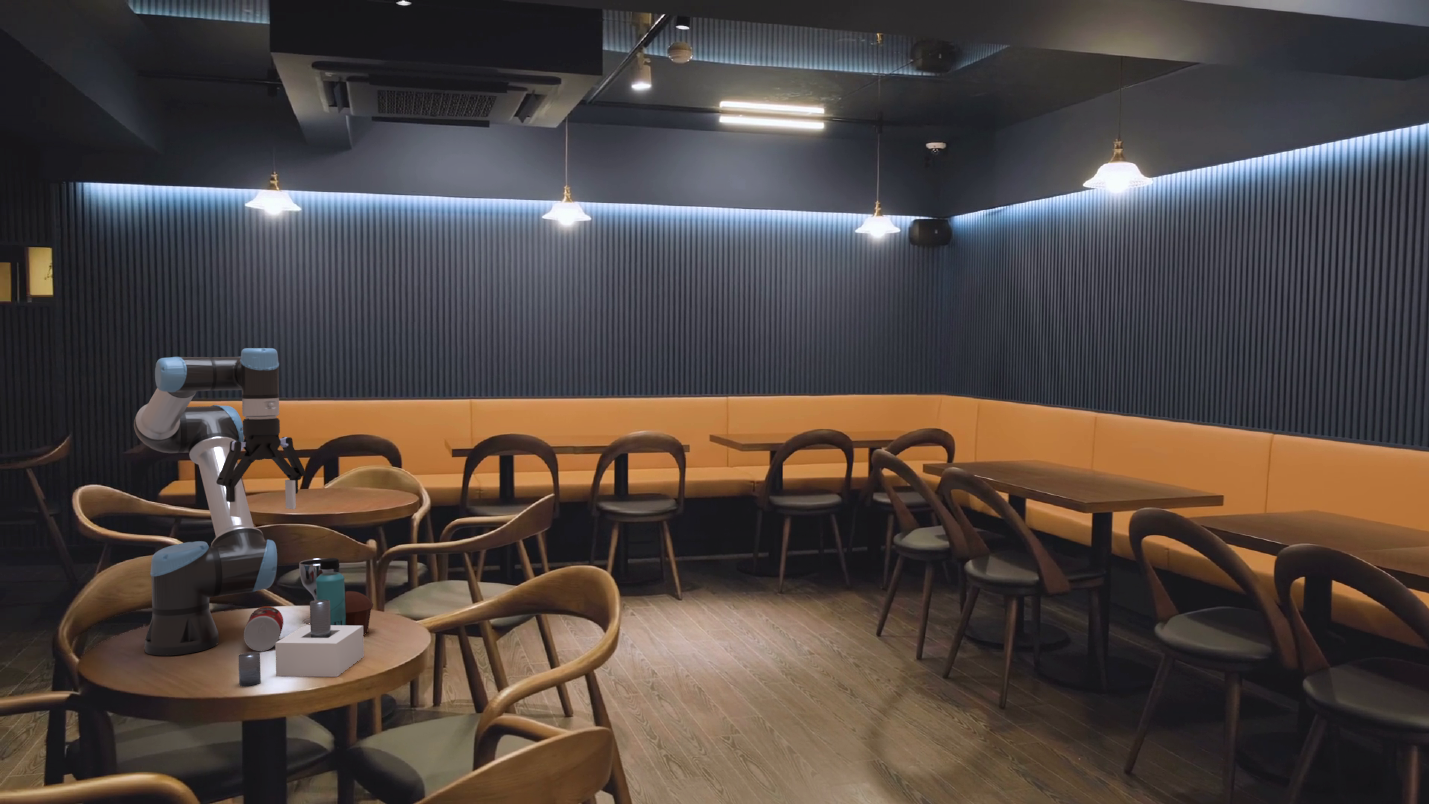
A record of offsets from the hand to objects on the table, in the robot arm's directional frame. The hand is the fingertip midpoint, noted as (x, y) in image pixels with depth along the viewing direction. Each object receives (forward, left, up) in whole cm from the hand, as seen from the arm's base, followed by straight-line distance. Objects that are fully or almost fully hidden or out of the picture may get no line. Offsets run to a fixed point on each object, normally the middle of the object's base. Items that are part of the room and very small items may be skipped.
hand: (263, 512), depth 229 cm
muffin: (+12, +16, -32) cm, 38 cm away
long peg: (+17, -9, -32) cm, 37 cm away
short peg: (+7, -21, -32) cm, 39 cm away
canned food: (-6, +12, -28) cm, 31 cm away
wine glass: (-1, +28, -32) cm, 42 cm away
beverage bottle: (+12, +7, -32) cm, 35 cm away
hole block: (+17, -9, -32) cm, 37 cm away
